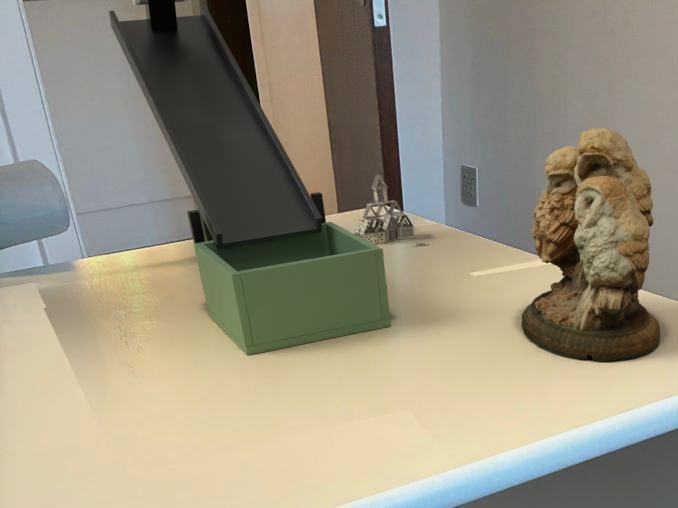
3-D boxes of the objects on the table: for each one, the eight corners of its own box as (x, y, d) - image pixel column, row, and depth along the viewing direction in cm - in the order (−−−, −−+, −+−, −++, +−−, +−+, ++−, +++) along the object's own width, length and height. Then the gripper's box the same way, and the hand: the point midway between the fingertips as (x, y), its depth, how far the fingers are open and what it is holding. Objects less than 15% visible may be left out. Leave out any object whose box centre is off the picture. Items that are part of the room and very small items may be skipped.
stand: (210, 314, 101) (189, 212, 95) (168, 271, 116) (147, 182, 110) (335, 291, 105) (322, 193, 100) (279, 253, 121) (264, 166, 115)
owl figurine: (493, 315, 95) (485, 123, 85) (599, 298, 98) (603, 110, 88) (570, 371, 81) (572, 149, 71) (691, 349, 84) (708, 133, 75)
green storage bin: (247, 355, 89) (231, 274, 85) (209, 316, 100) (193, 243, 96) (391, 326, 94) (382, 248, 90) (340, 292, 105) (330, 221, 101)
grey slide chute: (217, 249, 95) (213, 204, 91) (111, 27, 110) (103, -21, 105) (321, 232, 99) (323, 188, 94) (205, 19, 113) (202, -27, 109)
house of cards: (365, 255, 118) (357, 188, 113) (341, 242, 124) (333, 177, 120) (431, 244, 121) (426, 178, 116) (404, 231, 127) (399, 168, 123)
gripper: (27, -157, 94) (69, 10, 102) (229, -161, 101) (254, -4, 109) (21, -150, 99) (62, 10, 107) (215, -154, 106) (240, -4, 114)
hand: (161, 3), depth 108 cm, fingers closed on grey slide chute, 3 cm apart
